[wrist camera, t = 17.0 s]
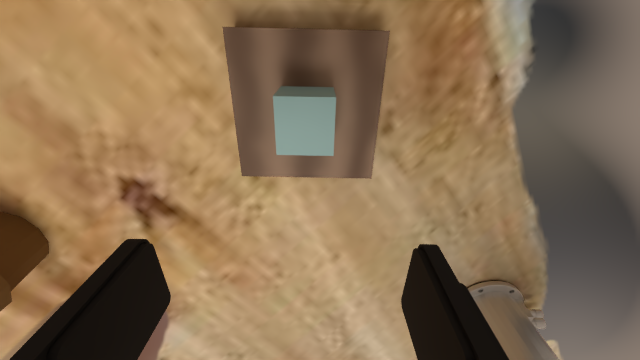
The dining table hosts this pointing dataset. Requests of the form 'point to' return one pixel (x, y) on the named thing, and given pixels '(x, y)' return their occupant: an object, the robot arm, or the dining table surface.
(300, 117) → the teal cube
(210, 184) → the dining table surface
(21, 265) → the flowerpot
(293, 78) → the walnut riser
